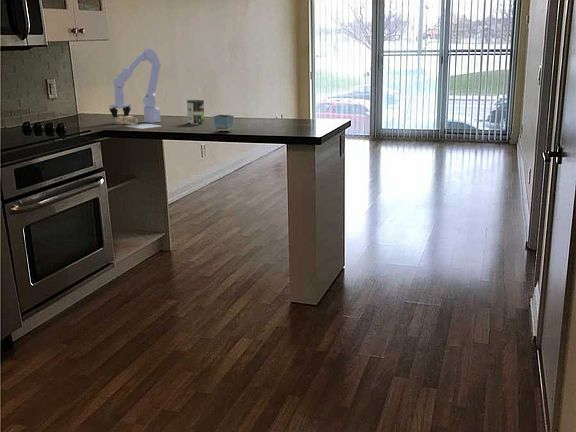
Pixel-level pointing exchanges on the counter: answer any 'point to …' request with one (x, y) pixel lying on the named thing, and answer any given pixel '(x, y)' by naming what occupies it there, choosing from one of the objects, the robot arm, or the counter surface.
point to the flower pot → (223, 121)
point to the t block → (126, 120)
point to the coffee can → (195, 111)
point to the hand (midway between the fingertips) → (120, 120)
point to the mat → (143, 126)
